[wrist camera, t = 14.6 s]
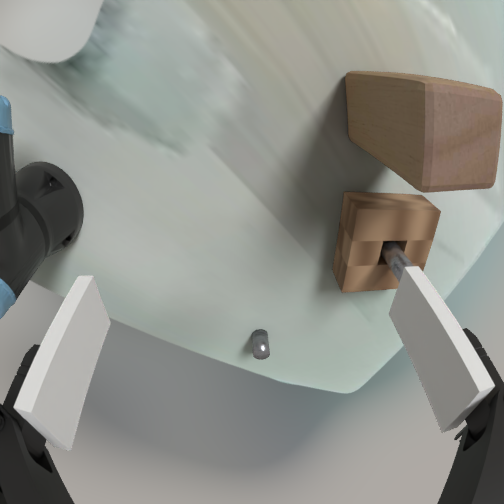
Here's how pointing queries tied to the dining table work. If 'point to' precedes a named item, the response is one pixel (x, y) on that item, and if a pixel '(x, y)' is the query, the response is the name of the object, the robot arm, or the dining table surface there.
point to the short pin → (260, 344)
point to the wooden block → (426, 128)
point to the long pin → (395, 258)
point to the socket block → (381, 237)
